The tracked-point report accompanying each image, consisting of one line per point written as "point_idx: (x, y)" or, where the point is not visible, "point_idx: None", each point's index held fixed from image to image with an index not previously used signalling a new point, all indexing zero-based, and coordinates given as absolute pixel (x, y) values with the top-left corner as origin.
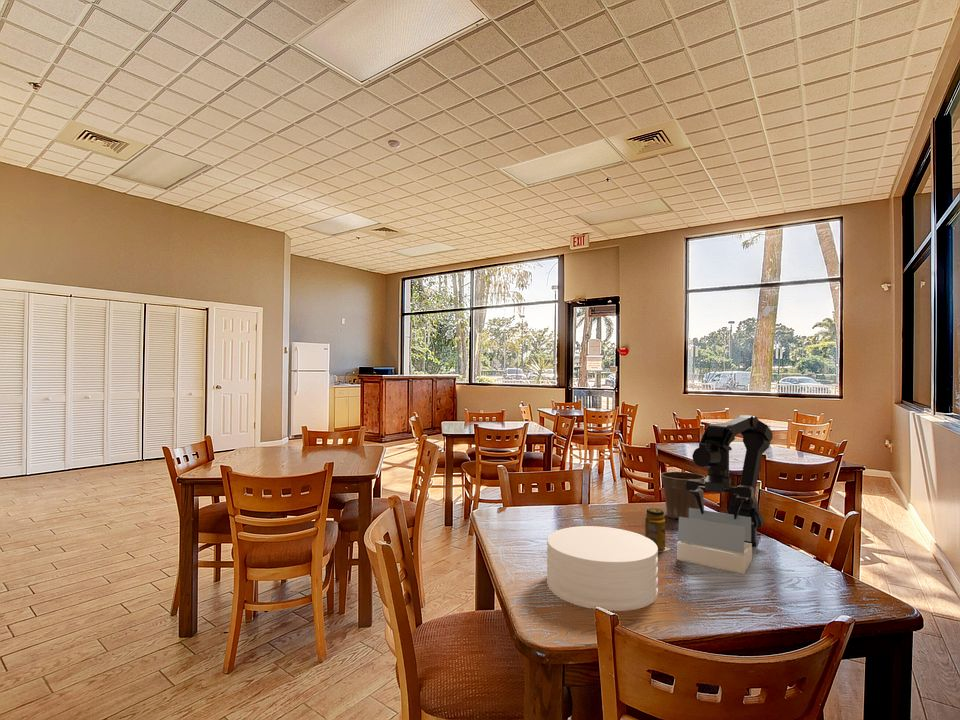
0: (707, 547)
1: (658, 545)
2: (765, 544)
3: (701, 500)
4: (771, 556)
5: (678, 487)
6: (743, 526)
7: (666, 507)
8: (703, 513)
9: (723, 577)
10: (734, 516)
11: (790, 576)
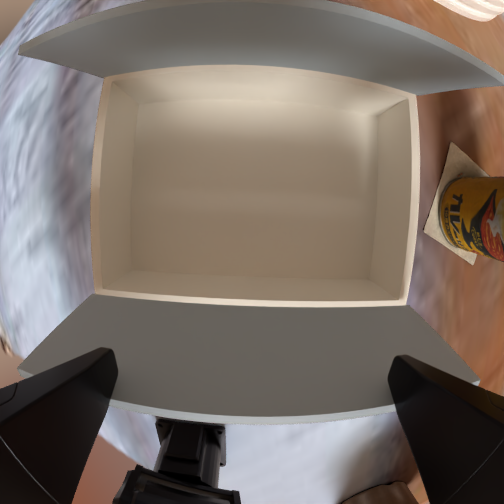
0: (302, 281)
1: (461, 181)
2: (146, 445)
3: (478, 430)
4: None
5: None
6: (87, 338)
7: (414, 497)
8: (389, 375)
9: None
10: (96, 356)
11: (28, 188)
